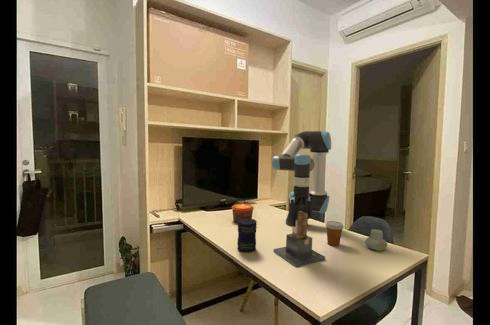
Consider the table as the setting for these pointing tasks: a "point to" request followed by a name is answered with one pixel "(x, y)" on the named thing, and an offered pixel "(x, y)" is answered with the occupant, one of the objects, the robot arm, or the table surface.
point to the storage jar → (246, 235)
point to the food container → (242, 211)
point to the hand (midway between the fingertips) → (299, 231)
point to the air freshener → (376, 240)
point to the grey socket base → (298, 251)
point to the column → (301, 225)
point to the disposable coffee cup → (334, 232)
